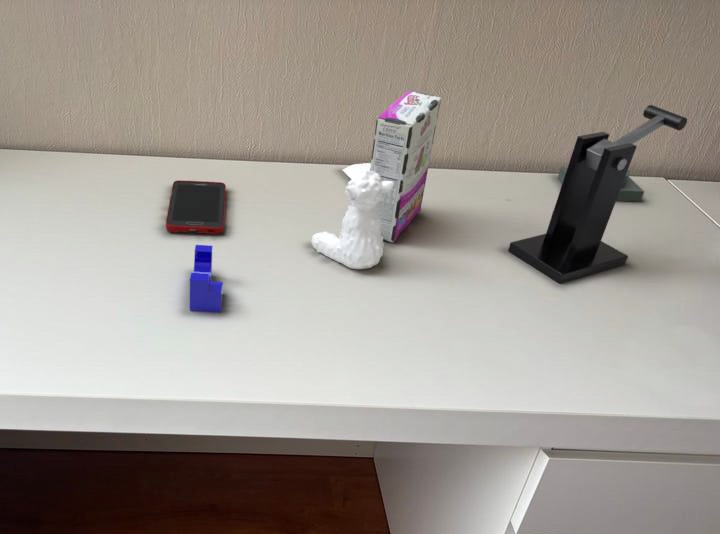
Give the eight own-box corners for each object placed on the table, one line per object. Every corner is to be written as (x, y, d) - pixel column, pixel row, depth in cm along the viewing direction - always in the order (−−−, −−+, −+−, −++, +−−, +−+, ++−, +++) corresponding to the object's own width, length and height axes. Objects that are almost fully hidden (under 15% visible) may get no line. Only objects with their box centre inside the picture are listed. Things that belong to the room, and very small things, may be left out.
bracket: (571, 234, 104) (611, 122, 94) (625, 264, 98) (673, 147, 88) (507, 251, 99) (542, 134, 90) (559, 283, 93) (602, 162, 83)
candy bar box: (387, 202, 109) (407, 89, 98) (420, 211, 107) (444, 96, 96) (357, 234, 101) (375, 114, 91) (392, 244, 99) (415, 123, 89)
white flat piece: (383, 212, 106) (384, 205, 106) (342, 171, 118) (343, 164, 117) (415, 209, 108) (416, 202, 107) (372, 168, 119) (372, 161, 118)
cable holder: (220, 312, 84) (221, 281, 82) (189, 310, 84) (189, 279, 82) (224, 275, 91) (225, 246, 88) (195, 274, 91) (195, 244, 88)
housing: (618, 180, 120) (626, 159, 118) (640, 201, 114) (649, 180, 112) (557, 177, 120) (564, 156, 118) (575, 199, 113) (583, 177, 111)
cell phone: (165, 232, 98) (164, 225, 98) (173, 185, 110) (173, 179, 110) (223, 235, 99) (223, 228, 98) (225, 188, 110) (226, 182, 110)
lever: (651, 116, 94) (653, 99, 92) (685, 130, 91) (689, 112, 89) (576, 161, 92) (577, 145, 91) (608, 177, 89) (610, 160, 87)
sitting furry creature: (375, 238, 100) (390, 152, 93) (403, 270, 94) (422, 180, 86) (309, 245, 98) (319, 157, 91) (333, 278, 91) (346, 186, 84)
